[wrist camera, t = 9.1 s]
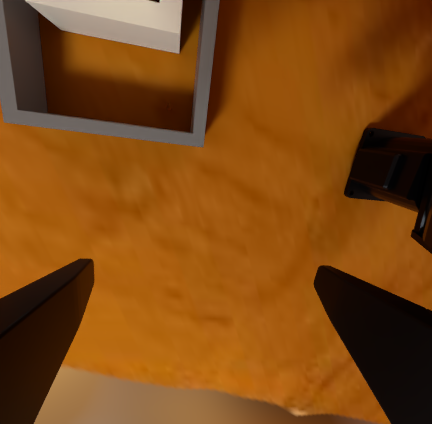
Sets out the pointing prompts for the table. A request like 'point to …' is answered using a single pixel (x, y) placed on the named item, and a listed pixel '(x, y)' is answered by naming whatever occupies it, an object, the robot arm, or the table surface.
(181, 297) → the table surface
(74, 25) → the walled frame
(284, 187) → the table surface
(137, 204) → the table surface
